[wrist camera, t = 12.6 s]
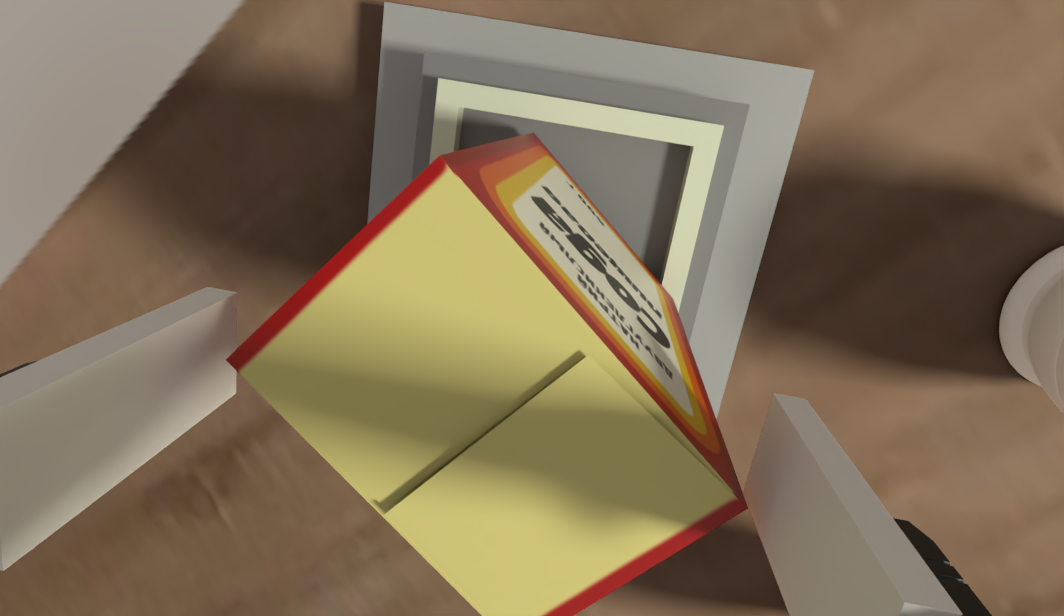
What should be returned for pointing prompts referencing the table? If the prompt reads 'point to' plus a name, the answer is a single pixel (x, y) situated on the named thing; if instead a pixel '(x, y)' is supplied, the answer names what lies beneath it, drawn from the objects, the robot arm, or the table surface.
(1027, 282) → the jar
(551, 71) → the plinth
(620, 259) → the baking soda box
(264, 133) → the table surface
